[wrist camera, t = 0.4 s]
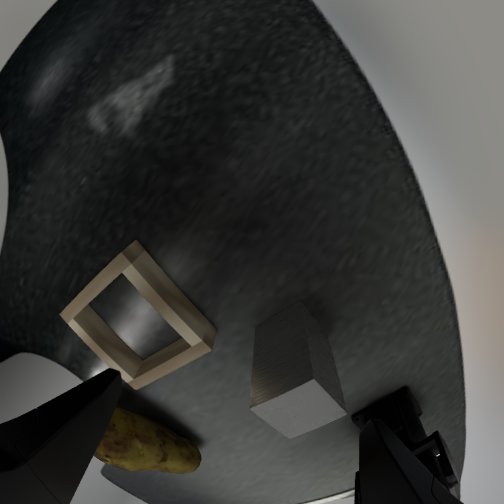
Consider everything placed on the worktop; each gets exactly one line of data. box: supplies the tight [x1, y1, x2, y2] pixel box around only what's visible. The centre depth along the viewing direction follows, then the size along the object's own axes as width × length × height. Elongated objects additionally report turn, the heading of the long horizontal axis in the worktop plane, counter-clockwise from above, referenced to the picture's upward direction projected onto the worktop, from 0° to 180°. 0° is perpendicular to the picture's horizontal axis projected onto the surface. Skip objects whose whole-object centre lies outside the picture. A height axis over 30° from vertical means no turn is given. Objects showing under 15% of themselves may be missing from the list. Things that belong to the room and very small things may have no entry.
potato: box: [94, 404, 202, 474], centre depth 24 cm, size 8×13×8 cm, turn 23°
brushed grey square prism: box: [250, 300, 348, 439], centre depth 18 cm, size 4×4×8 cm
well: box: [60, 240, 217, 390], centre depth 21 cm, size 9×9×2 cm
